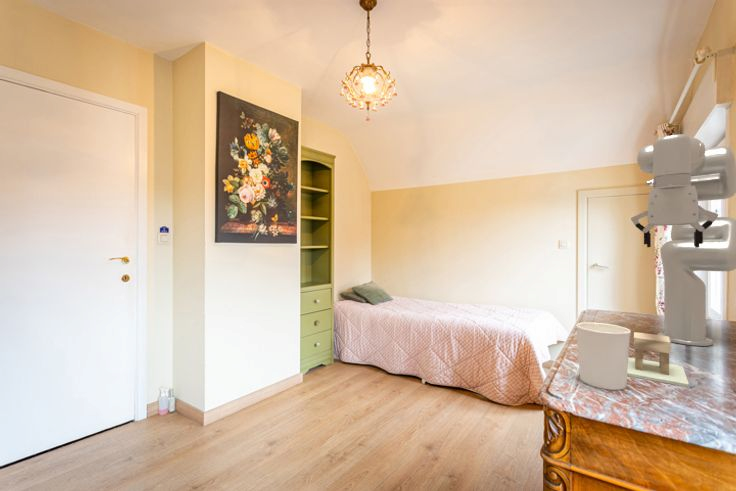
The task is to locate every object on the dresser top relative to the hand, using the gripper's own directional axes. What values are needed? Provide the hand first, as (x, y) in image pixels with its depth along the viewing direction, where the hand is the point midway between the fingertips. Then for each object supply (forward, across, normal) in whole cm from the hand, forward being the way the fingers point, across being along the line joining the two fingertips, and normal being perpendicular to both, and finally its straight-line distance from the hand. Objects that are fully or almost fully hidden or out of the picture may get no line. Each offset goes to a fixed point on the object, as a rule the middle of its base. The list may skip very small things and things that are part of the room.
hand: (672, 247), depth 91 cm
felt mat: (+29, -5, -18) cm, 34 cm away
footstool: (+28, -5, -18) cm, 34 cm away
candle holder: (+28, -13, -33) cm, 46 cm away
